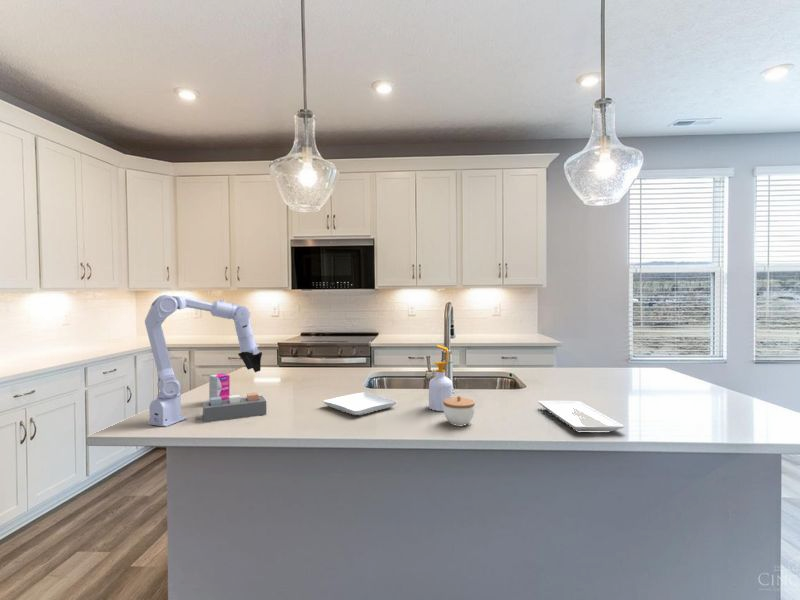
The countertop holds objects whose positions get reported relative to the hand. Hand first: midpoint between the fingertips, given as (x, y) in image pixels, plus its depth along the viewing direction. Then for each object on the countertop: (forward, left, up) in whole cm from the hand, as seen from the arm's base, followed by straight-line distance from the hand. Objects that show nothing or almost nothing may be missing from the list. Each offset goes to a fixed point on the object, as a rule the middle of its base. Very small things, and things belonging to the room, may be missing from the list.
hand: (253, 370), depth 169 cm
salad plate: (+13, -39, -15) cm, 44 cm away
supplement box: (+2, +18, -15) cm, 23 cm away
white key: (-10, +1, -12) cm, 16 cm away
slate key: (-15, +5, -12) cm, 20 cm away
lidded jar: (+6, -79, -15) cm, 81 cm away
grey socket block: (-10, +1, -15) cm, 18 cm away
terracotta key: (-6, -4, -12) cm, 14 cm away
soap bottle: (+22, -69, -15) cm, 74 cm away
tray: (+22, -118, -15) cm, 121 cm away
